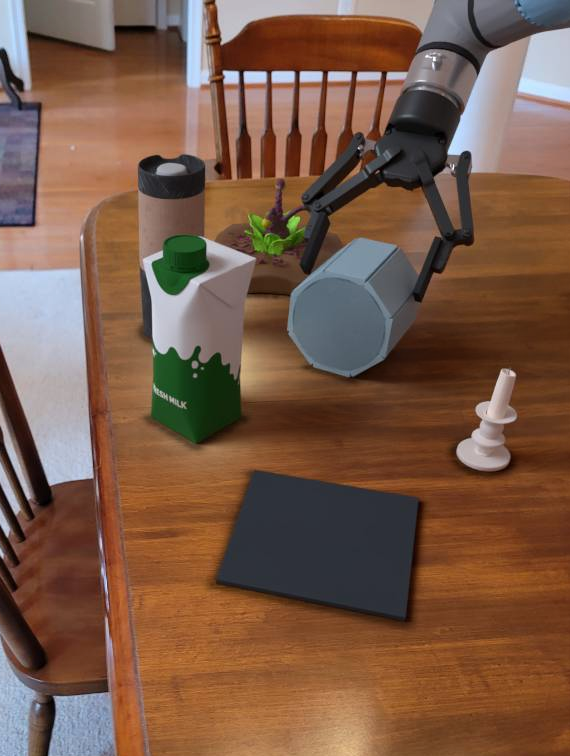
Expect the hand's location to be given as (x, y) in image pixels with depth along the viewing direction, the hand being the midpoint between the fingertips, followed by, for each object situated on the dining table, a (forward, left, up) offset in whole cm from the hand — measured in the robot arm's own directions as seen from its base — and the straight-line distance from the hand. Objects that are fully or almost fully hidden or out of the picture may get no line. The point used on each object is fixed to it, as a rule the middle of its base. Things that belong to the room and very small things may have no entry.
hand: (359, 283), depth 95 cm
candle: (-16, +18, -9) cm, 25 cm away
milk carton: (+14, +19, -9) cm, 25 cm away
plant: (+13, -21, -9) cm, 26 cm away
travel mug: (+22, +1, -9) cm, 24 cm away
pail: (0, +1, -3) cm, 3 cm away
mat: (-2, +35, -9) cm, 36 cm away
